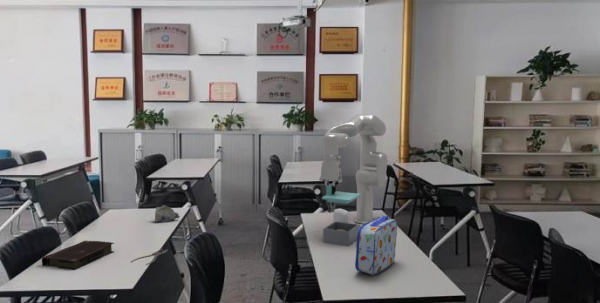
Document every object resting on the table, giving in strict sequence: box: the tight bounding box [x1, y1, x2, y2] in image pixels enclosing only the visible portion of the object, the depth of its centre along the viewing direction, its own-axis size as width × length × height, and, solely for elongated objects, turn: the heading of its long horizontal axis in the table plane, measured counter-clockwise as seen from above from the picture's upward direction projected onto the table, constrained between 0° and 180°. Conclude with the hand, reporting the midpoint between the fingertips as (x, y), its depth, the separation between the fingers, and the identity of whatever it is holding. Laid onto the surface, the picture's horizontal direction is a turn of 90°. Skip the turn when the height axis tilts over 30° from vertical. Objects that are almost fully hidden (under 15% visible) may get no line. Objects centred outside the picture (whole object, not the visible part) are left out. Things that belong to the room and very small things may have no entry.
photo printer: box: [333, 208, 351, 223], centre depth 251 cm, size 10×4×12 cm, turn 39°
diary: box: [41, 240, 115, 271], centre depth 207 cm, size 19×25×5 cm
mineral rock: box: [154, 204, 180, 224], centre depth 270 cm, size 13×11×10 cm
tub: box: [322, 221, 361, 247], centre depth 235 cm, size 16×14×7 cm
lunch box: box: [354, 215, 398, 276], centre depth 196 cm, size 28×10×22 cm, turn 148°
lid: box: [321, 183, 361, 205], centre depth 233 cm, size 17×15×8 cm
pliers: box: [130, 248, 168, 266], centre depth 209 cm, size 10×1×20 cm
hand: (330, 193), depth 236 cm, fingers closed on lid, 2 cm apart
